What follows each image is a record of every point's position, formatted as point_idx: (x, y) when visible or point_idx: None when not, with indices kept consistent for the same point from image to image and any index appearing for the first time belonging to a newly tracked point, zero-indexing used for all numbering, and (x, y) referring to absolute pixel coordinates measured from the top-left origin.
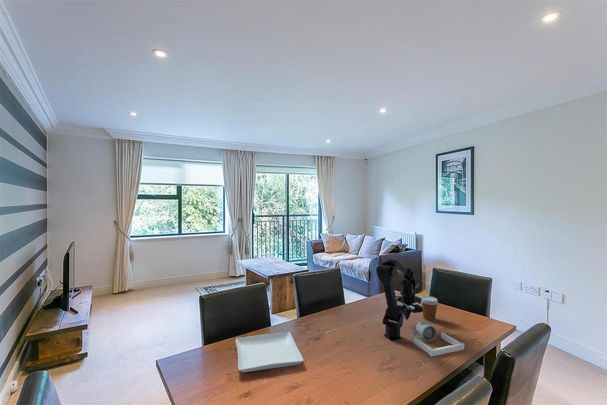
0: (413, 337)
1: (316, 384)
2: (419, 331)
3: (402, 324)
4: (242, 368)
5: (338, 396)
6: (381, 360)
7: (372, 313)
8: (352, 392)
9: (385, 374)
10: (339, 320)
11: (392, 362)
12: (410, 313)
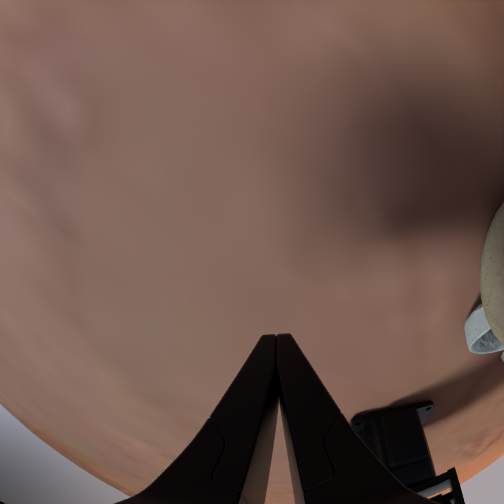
0: (484, 343)
1: None
2: None
3: (456, 475)
4: None
5: (460, 483)
6: (460, 456)
7: (19, 362)
8: (470, 475)
9: (492, 448)
10: (141, 478)
11: (487, 438)
12: (349, 428)
